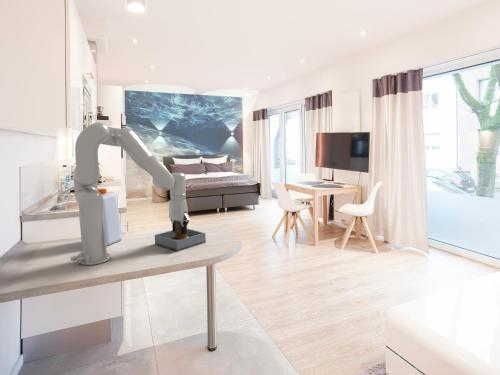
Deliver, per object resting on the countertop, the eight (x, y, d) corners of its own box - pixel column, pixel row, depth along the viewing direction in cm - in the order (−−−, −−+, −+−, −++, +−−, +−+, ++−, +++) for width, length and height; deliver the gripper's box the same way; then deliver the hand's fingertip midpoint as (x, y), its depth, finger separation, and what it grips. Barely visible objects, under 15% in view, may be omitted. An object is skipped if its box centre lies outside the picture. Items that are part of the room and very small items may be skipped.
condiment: (190, 237, 161) (189, 214, 160) (176, 241, 155) (175, 217, 154) (182, 235, 166) (182, 212, 165) (168, 238, 160) (167, 215, 159)
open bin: (177, 251, 149) (176, 241, 148) (155, 244, 160) (154, 234, 159) (205, 242, 162) (205, 232, 162) (183, 236, 174) (182, 227, 173)
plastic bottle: (81, 245, 160) (76, 190, 157) (103, 236, 175) (99, 186, 171) (104, 247, 156) (100, 191, 152) (125, 239, 170) (122, 187, 166)
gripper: (161, 196, 160) (163, 231, 163) (183, 200, 150) (184, 237, 152) (173, 195, 166) (175, 228, 169) (195, 198, 155) (196, 233, 158)
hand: (179, 232), depth 160 cm, fingers closed on condiment, 6 cm apart
